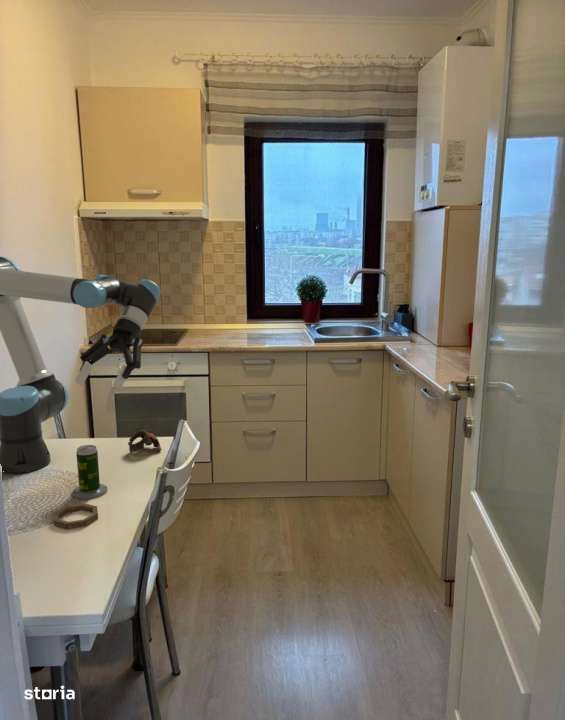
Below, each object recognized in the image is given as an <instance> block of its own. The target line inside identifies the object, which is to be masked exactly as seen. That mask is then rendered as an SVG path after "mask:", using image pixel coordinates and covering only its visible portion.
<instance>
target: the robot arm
mask: <svg viewBox="0 0 565 720" xmlns="http://www.w3.org/2000/svg"><path fill="white" fill-rule="evenodd" d="M161 292H162V291H161V288H160V286H159V285H158V284H157V283H155V282H154V281H152V280H150V279H141V280H140V281H138V282H137V284H135V283H132V282H128V281H124V280H122V279H119V278H116V277H112V276H111V275H105V274H97V275H96V276H95V277H94V279H88V278H80V277H79V278H78V277H73V276H72V277H71V276H63V275H56V274H49V273H48V274H47V273H39V272H31V271H23V270H22V269H21V267H20V266H19V265H18V264H17V263H16V262H15V261H14V260H12V259H10V258H8V257H5V256H0V334H1V336H2V338H3V341H4V343H5V346H6V348H7V351H8V353H9V356H10V359H11V361H12V364H13V366H14V368H15V372H16V374H17V377H18V382H17V383H16V386H14V387H9V388H7V389H5V390H3V391H1V392H0V464H1V466H2V472H1V473H2V474H7V473H17V474H22V473H21V472H25V473H28V472H27V471H30V472H33V471H32V470H34V471H37V469H38V470H41V469H43V468H45V467H46V466H48V465H49V464H50V463H51V461H52V460H51V459H52V458H51V453H50V450H49V449H48V446H47V444H46V443H45V440H44V438H43V430H42V424H43V423H44V422H46V421H47V420H49V419H51V418H54V417H56V416H57V415H59V414H60V413H61V412H63V410H64V409H65V408H66V407H67V404H68V402H69V392H68V389H67V386H66V385H65V384H64V383H63V382H61V381H60V380H59V379H56V376H55V373H54V372H52V371H50V370H48V369H47V367H46V363H45V362H44V360H43V357H42V354H41V351H40V348H39V347H38V343H37V341H36V338H35V336H34V334H33V330H32V328H31V326H30V323H29V321H28V318H27V315H26V312H25V310H24V308H23V305H22V303H21V298H26V299H33V300H38V301H39V300H42V301H46V302H47V301H48V302H49V301H50V302H57V303H64V304H71V305H79V306H80V307H81V308H84V309H85V308H86V309H95V308H98V307H101V306H106V305H111V304H113V305H118V306H121V307H124V308H123V310H122V311H121V313H120V314H119V317H118V319H117V321H116V323H115V324H114V326H113V328H112V334H111V335H110V336H108V335H106V334H105V333H103V334H102V335H100V337H99V338H98V339H97V341H96V342H95V343H94V344H92V346H91V347H89V348H88V349H87V350H86V351H85V352H84V353H83V354H82V355H81V356H79V357H80V359H81V361H82V362H83V363H82V365H81V366H80V368H79V372H78V374H77V376H76V378H74V381H76V383H77V384H78V385H80V386H84V384H85V382H86V380H87V378H88V376H89V374H90V373H91V371H92V369H93V368H94V366H93V364H95V363H96V362H98V361H99V360H101V359H102V358H104V357H105V356H107V355H108V354H112V353H113V352H114V353H121V354H122V353H123V357H124V361H125V364H123V365H122V367H121V368H120V371H119V372H118V374H117V376H116V378H115V380H114V382H113V384H112V385H113V386H114V388H116V390H118V391H121V390H122V388H123V386H124V384H125V382H126V380H127V379H129V378H130V375H131V374H132V371H134V370H135V369H137V370H138V369H141V368H142V365H141V364H142V347H143V345H144V341H143V340H142V339H141V338H140V335H141V333H142V330H143V329H144V327H145V326H146V323H147V322H148V319H149V317H150V316H151V313H152V312H153V310H154V308H155V307H156V305H157V304H158V300H159V298H160V296H161ZM131 347H132V352H131ZM3 471H4V473H3Z"/></svg>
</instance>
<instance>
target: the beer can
mask: <svg viewBox="0 0 565 720" xmlns="http://www.w3.org/2000/svg"><path fill="white" fill-rule="evenodd" d="M98 453H99V452H98V448H97V445H94V444H86V445H85V444H84V445H80V446H78V447H77V448H76V466H77V477H78V487H79V490H80V492H81V493H83V494H90V493H94V492H97V491H98V490H99V488H100V484H101V480H100V469H99V467H100V465H99V454H98Z"/></svg>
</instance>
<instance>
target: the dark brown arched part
mask: <svg viewBox="0 0 565 720" xmlns="http://www.w3.org/2000/svg"><path fill="white" fill-rule="evenodd" d="M139 437H140V438H141V439H140V440H139V441H138V442H136V443H134V441H135V440H136V439H138V438H139ZM127 445H128V446H129V447H128V449H129V453H130V454H132V453H135V452H138V451H141V450H142V451H145V446H146V447H148V446H151V445H153V448H154V447H157V448H156V449H157V450H158V453H159V452H160V451H161V452H162V447H161V443H160V441H159V439H158V438H157V436H156V435H154V433H152V430H150V429H149V428H148V429H142V430H139V431H137V432H135V433H134V434H133V435H132V436H131V437H130V438H129V441H128V442H127ZM161 452H160V453H161Z"/></svg>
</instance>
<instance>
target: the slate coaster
mask: <svg viewBox="0 0 565 720" xmlns="http://www.w3.org/2000/svg"><path fill="white" fill-rule="evenodd" d="M107 492H108V487H107V485H105V484H104V483H103V484H102V483H100V488H99V490H98V491H97V492H94V493H90V494H83V493H81V492H80V490H79V486H77V487H75V488H74V489H73V490H72V492H71V495H72V497H73V498H74V497H75V498H74V499H76V498H77V499H76V500H81V499H88V500H93V499H97V497H98V498H100V497H102V496H103V495H104V496H105V495H106V494H107Z"/></svg>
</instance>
